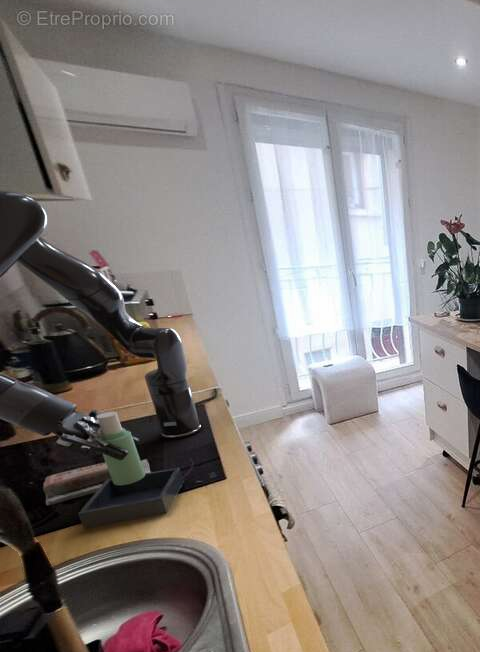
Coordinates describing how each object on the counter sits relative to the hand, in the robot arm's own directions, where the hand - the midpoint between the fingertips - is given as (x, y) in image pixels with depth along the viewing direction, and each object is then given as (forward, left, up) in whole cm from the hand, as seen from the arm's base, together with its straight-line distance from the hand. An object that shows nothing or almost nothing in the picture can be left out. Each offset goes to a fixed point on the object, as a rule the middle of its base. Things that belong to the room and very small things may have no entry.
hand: (130, 449), depth 90 cm
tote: (0, -2, -14) cm, 14 cm away
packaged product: (-14, -13, -14) cm, 24 cm away
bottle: (0, -2, -7) cm, 7 cm away
